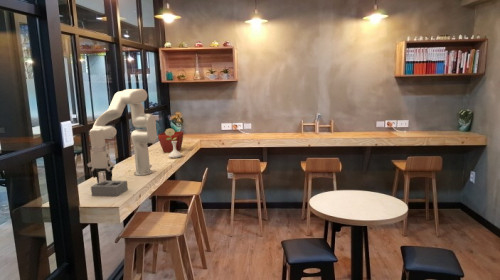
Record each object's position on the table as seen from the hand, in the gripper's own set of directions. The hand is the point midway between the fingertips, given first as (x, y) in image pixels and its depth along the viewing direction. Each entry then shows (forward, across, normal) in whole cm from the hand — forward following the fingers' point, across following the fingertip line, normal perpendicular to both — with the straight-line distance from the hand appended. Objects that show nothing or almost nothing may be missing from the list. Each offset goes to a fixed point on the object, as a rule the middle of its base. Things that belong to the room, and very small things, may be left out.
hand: (102, 177), depth 202 cm
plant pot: (+12, +3, -114) cm, 114 cm away
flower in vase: (+11, -9, -89) cm, 90 cm away
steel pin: (+8, 0, 0) cm, 8 cm away
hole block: (+9, -4, +1) cm, 10 cm away
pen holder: (+10, +10, -16) cm, 22 cm away
